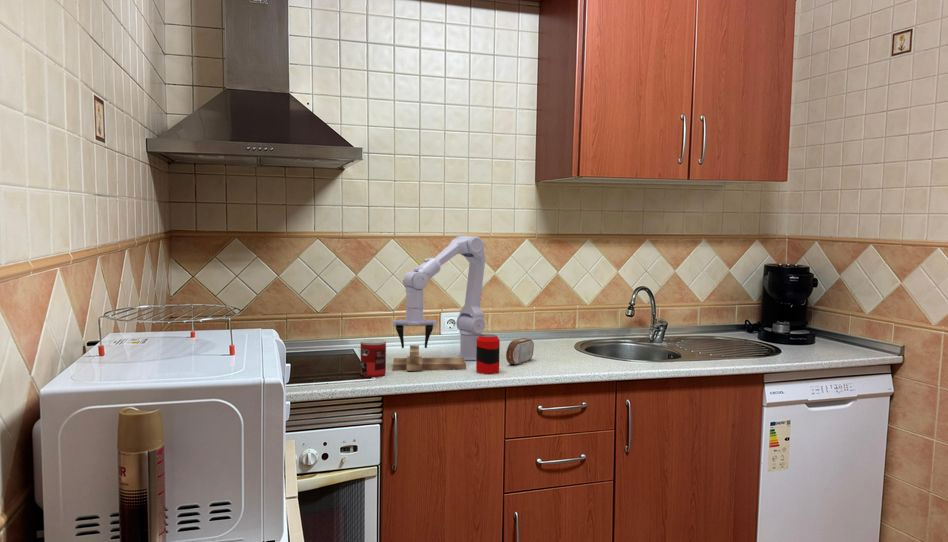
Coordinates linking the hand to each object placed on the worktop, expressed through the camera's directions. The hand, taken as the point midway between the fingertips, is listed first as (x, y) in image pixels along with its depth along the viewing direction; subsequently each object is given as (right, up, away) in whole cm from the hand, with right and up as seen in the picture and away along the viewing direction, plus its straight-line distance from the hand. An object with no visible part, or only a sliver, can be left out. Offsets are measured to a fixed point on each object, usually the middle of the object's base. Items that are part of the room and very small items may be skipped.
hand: (414, 347), depth 217 cm
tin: (+36, -7, +9) cm, 38 cm away
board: (+5, -7, +1) cm, 8 cm away
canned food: (-12, -8, -12) cm, 18 cm away
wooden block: (0, -6, -1) cm, 6 cm away
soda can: (+25, -8, -5) cm, 26 cm away
